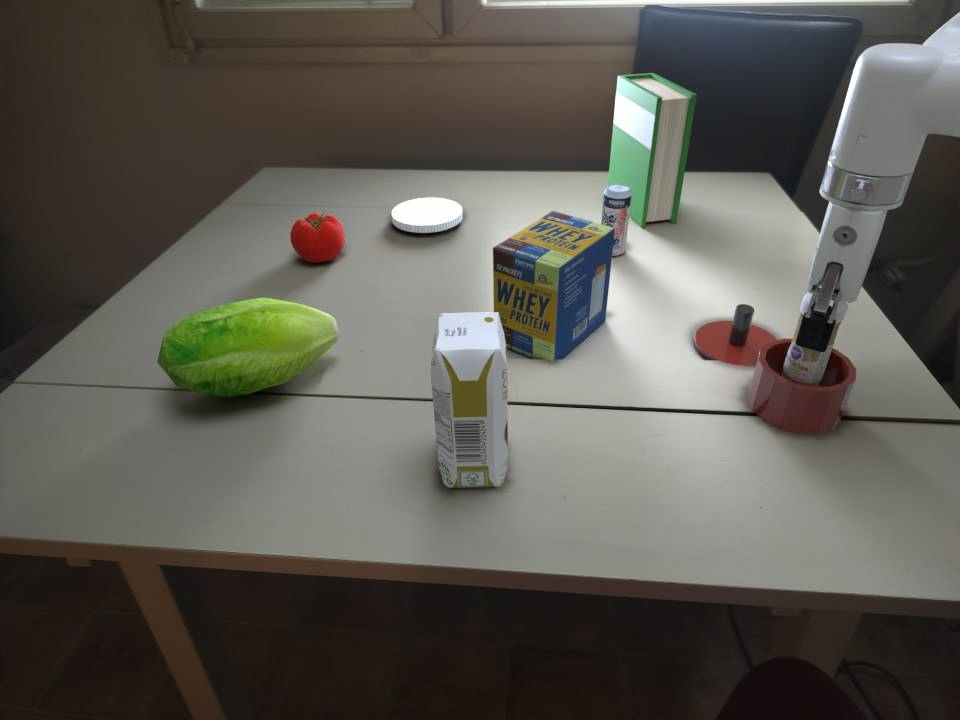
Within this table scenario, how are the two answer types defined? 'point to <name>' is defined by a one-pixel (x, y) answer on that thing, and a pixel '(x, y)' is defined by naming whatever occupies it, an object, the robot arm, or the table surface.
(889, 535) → the table surface
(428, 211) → the plastic lid
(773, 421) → the pot
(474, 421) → the juice carton
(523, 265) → the protein box
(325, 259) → the tomato
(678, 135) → the hardback book
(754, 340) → the lid
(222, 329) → the lettuce
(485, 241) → the table surface
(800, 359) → the sprinkles bottle
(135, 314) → the table surface
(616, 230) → the beer can
